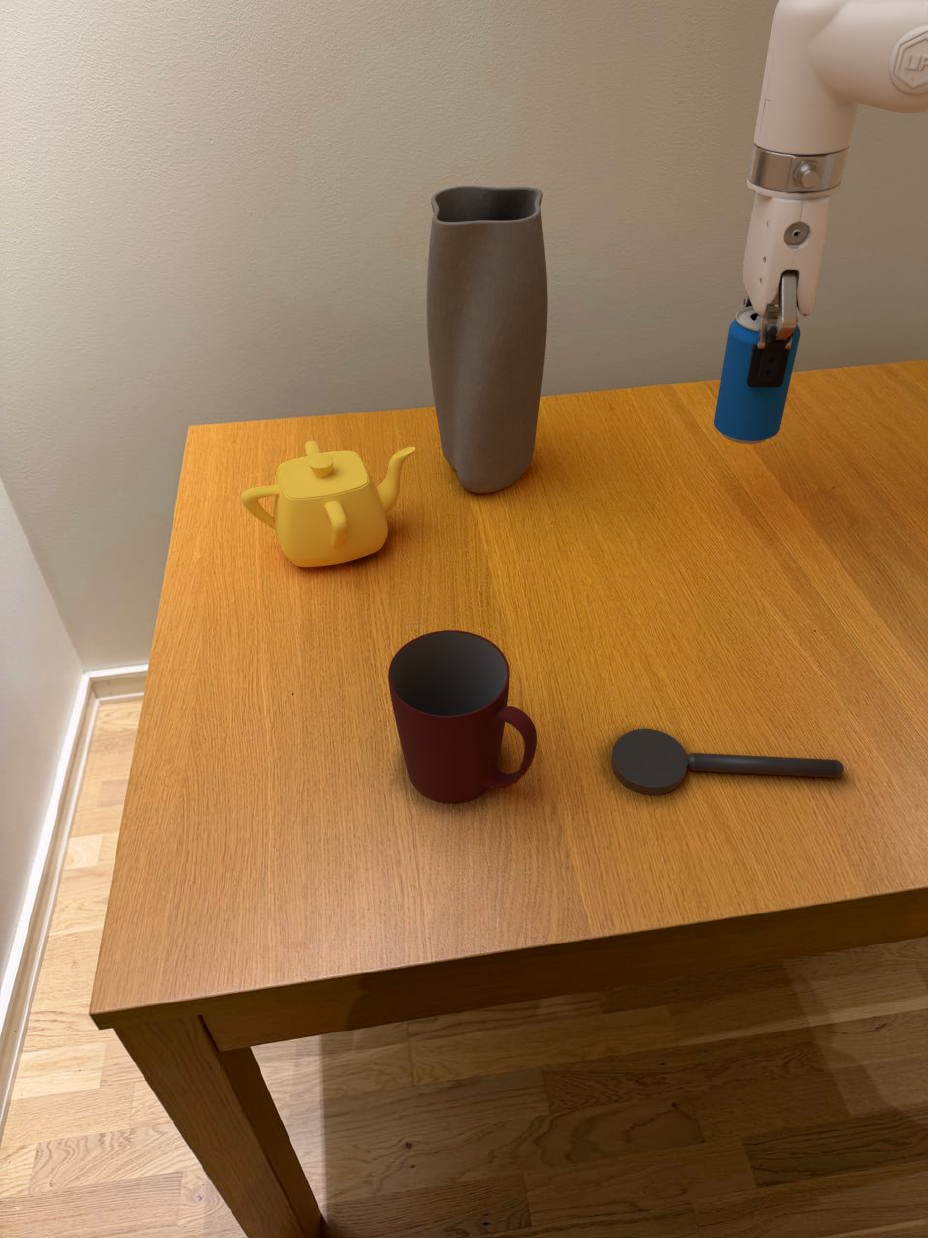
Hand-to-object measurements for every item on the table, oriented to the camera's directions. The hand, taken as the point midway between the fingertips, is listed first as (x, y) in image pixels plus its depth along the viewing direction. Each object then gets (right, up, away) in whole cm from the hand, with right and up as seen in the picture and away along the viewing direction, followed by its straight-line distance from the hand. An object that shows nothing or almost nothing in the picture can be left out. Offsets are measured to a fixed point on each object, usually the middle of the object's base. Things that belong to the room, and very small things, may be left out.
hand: (757, 366), depth 86 cm
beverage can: (0, -5, +5) cm, 7 cm away
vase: (-26, -7, +18) cm, 32 cm away
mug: (-28, -37, -14) cm, 49 cm away
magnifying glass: (-8, -36, -14) cm, 40 cm away
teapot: (-42, -16, +9) cm, 46 cm away
